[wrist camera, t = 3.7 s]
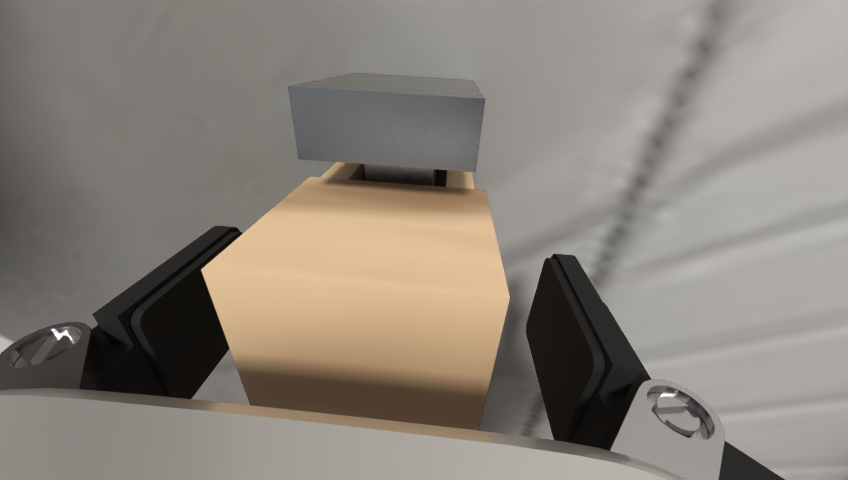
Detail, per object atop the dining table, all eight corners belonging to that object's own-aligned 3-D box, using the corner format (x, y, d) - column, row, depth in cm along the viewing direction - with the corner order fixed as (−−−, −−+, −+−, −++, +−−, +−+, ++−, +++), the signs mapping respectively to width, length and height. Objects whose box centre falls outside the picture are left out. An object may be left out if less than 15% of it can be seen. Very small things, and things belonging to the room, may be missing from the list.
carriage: (340, 150, 12) (201, 270, 5) (478, 160, 12) (509, 297, 5) (351, 282, 15) (270, 460, 8) (460, 292, 15) (466, 483, 8)
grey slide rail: (353, 73, 11) (287, 86, 7) (472, 80, 11) (485, 98, 6) (373, 444, 22) (354, 537, 18) (430, 450, 22) (425, 546, 18)
